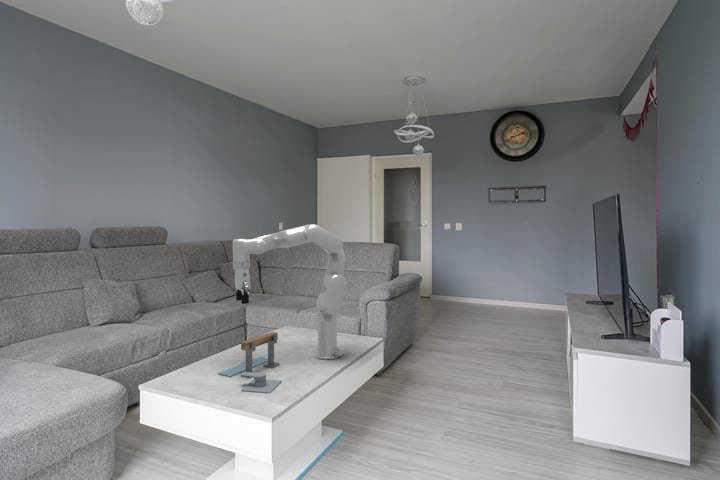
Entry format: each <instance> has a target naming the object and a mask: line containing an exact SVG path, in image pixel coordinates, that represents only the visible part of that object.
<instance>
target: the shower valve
mask: <svg viewBox="0 0 720 480" xmlns="http://www.w3.org/2000/svg"><path fill="white" fill-rule="evenodd" d="M256 372H257V371H254V372H246V371H244V372H242V373H239V376H240V377H242V376H248V377H251V378H253V379H252V380H251V381H250V382H248V383H247V384H246V385H244V387H242V388H241V389H240V390H241V391H240V392H245V393H258V394H271V393H272V392H273V391H275V389H277V387H278V386H280V385H281V384H282V380H279V379H267V373H266V372H258V373H256Z"/></svg>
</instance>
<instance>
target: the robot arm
mask: <svg viewBox="0 0 720 480" xmlns="http://www.w3.org/2000/svg"><path fill="white" fill-rule="evenodd" d="M311 242H312V243H313V244H314V245H315V246H318V247H320V248H321V249H323V250H324V251H325V252H326V254H327V257H328V258H327V264H326V270H325V274H324V277H323V280H322V282H323V283H322V284H323V287H325V291H324V292H322V293H321V294H319V295H318V297H317V298H316V312H317V314H316V315H317V351H316V352H315V353H314V357H315V358H316V359H318V360H319V359H320V360H334V359H337V358H339V357H340V356H343V354H344V350H341V349H340V347H339V346H338V328H337V327H338V320H337V317H338V316H337V314H338V313H339V312H340V311H341V309H342V306H343V302H344V298H345V294H346V290H347V280H346V278H345V276H344V275H343V274H344V269H345V264H346V255H345V254H346V253H345V251H344V242H343V240H342V238H341V237H339V236H338V235H336V234H334V233H332V232H330V231H329V230H327V229H325V228H324V227H322V226H320V225H318V224H314V223H313V224H311V223H309V224H305V225H301V226H296V227H293V228H288V229H284V230H280V231H278V232H274V233H270V234H267V235H262V236H258V237H254V238H249V239H248V238H235V239H233V240H232V269H233V270H234V284H235V286H234V287H235V288H236V289H235V299H236V301H237V302H238V301H241V304H242V305H246V304H249V303H250V298H249V297H250V295H249V290H251V278H250V270H249V269H251V261H250V257H251V256H250V255H251V254H252V255H262V254H264V253H265V252H267V251H271V250H275V249H287V248H292V247H295V246H299V245H305V244H308V243H311Z"/></svg>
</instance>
